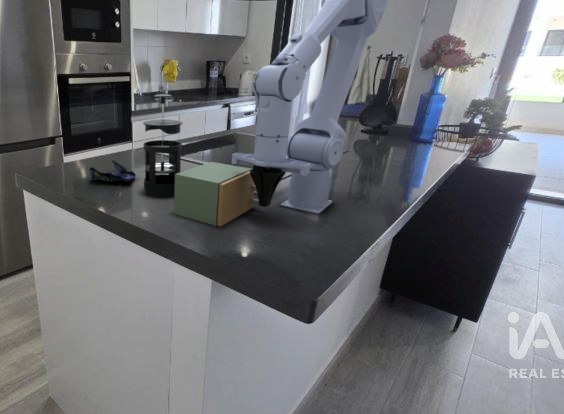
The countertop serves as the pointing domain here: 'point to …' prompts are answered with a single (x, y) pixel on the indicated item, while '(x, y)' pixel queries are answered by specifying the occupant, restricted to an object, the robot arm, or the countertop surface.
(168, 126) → the french press
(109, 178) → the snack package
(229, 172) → the cupboard
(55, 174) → the countertop surface
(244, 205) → the door
